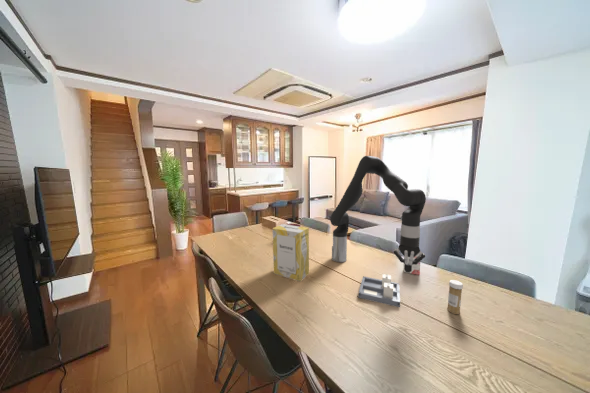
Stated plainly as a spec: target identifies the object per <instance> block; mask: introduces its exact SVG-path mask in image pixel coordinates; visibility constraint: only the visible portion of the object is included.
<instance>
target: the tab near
mask: <svg viewBox="0 0 590 393" xmlns="http://www.w3.org/2000/svg"><path fill="white" fill-rule="evenodd" d="M383 297H386V298H390V299H393V284H390V283H384V295H383Z"/></svg>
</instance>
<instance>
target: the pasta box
mask: <svg viewBox="0 0 590 393" xmlns="http://www.w3.org/2000/svg"><path fill="white" fill-rule="evenodd" d="M309 231H310V230H309V227H304V226H301V227H299V226H293V225H288V224H284V223H281V224H279V225H277V226H274V227H273V228H272V255H273V256H272V259H273V260H272V261H273V263H272V264H273V274H274V275H276V276H280V277H283V278H287V279H290V280H294V281H297V282H302V281H303V280H304V279H305V278H306V277H307V276H308V275H309V273H310V240H309V239H310V232H309Z"/></svg>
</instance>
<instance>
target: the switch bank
mask: <svg viewBox="0 0 590 393" xmlns="http://www.w3.org/2000/svg"><path fill="white" fill-rule="evenodd" d="M391 284H393V299H390V298H386V297H383V295H384V288H382V279H379V278H374V277H368V276H362V279H361V283H360V285H359V290H358V296H357V297H358V298H359V299H362V300H366V301H369V302H370V301H371V302H376V303H380V304H383V305H388V306H392V307H398V308H401V294H400V293H401V292H400V291H401V289H400V282H395V281H391Z"/></svg>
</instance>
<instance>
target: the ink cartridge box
mask: <svg viewBox="0 0 590 393" xmlns="http://www.w3.org/2000/svg"><path fill="white" fill-rule="evenodd" d="M418 254H419V253H418ZM418 254H417V255H416V256H415V257H413V260H414V259H416V258H417V257H418ZM408 263H409V257H408ZM402 269H403V270H402V271H403V273H406V274H407V273H408V272H406V271H405V270H404V265H403V268H402ZM408 274H413V275H418V276H419V275H421V261H420V262H419V263H417V264H416V265H415V264H413V265H412V271H411V272H410V273H408Z"/></svg>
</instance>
